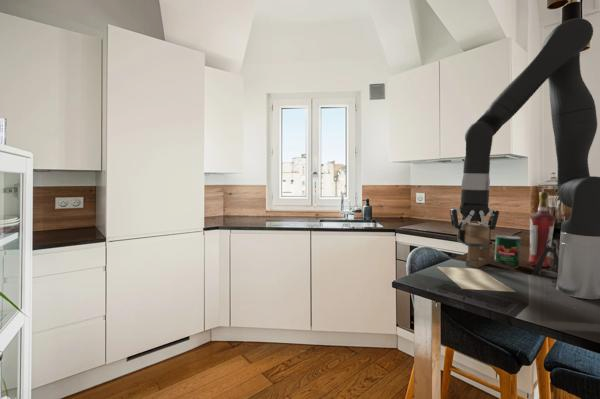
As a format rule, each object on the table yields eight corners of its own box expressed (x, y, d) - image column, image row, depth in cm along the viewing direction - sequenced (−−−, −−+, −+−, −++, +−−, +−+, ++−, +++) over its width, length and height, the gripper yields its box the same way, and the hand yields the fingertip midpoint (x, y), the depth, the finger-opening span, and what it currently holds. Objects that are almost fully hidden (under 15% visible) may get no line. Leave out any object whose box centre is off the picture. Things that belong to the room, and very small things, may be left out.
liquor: (525, 262, 120) (529, 191, 118) (548, 265, 117) (553, 192, 115) (528, 266, 114) (533, 192, 112) (553, 269, 110) (559, 192, 108)
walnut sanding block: (474, 241, 100) (475, 223, 99) (488, 247, 91) (489, 227, 90) (457, 240, 100) (458, 222, 100) (468, 246, 91) (470, 226, 91)
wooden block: (489, 266, 113) (491, 218, 112) (475, 271, 107) (478, 220, 105) (478, 264, 116) (481, 217, 115) (464, 268, 109) (467, 219, 108)
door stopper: (531, 274, 105) (533, 239, 104) (533, 270, 109) (535, 237, 108) (566, 280, 98) (568, 243, 98) (567, 276, 103) (569, 241, 102)
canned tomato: (511, 262, 119) (513, 235, 118) (523, 268, 111) (525, 238, 110) (490, 261, 120) (491, 234, 119) (500, 267, 112) (501, 237, 112)
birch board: (478, 272, 105) (479, 268, 105) (515, 296, 84) (515, 291, 84) (436, 270, 107) (436, 266, 107) (462, 292, 85) (462, 288, 85)
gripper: (455, 188, 91) (452, 243, 93) (506, 189, 90) (503, 245, 91) (446, 187, 99) (444, 239, 100) (493, 188, 97) (490, 240, 98)
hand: (472, 242), depth 95 cm, fingers closed on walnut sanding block, 5 cm apart
